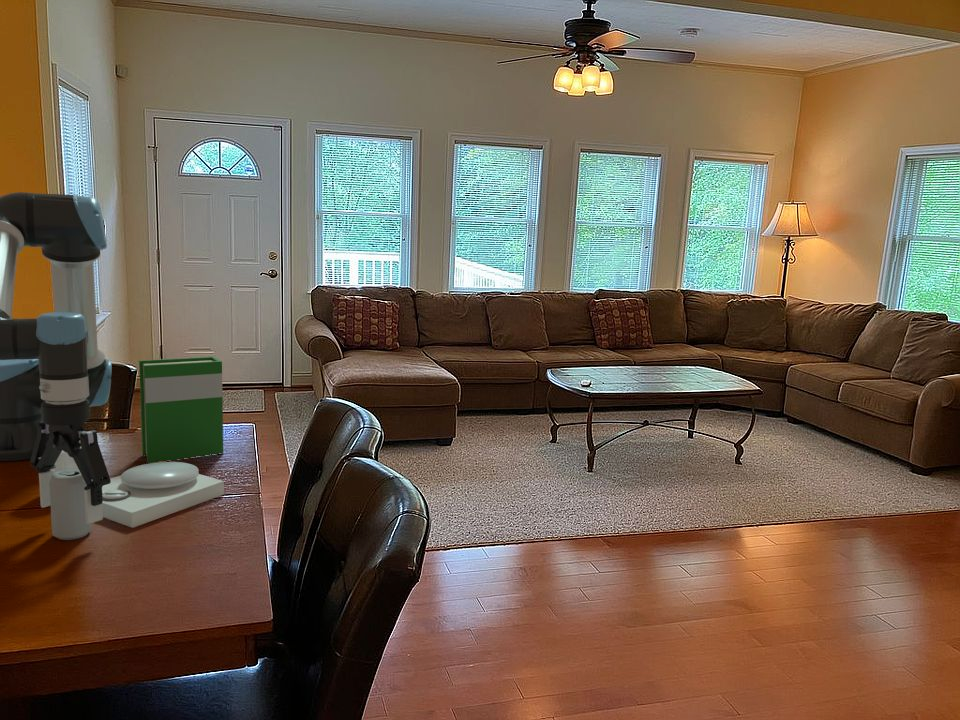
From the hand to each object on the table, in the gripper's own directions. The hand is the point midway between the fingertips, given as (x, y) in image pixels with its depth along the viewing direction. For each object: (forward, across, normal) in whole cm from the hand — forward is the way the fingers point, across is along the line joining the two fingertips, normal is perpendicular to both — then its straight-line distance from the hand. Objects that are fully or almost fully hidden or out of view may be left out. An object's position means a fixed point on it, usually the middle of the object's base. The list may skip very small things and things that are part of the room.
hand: (71, 513), depth 132 cm
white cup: (+4, -21, +11) cm, 24 cm away
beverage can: (+4, 0, 0) cm, 4 cm away
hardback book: (+4, -23, +43) cm, 49 cm away
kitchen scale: (+4, -4, +19) cm, 20 cm away
